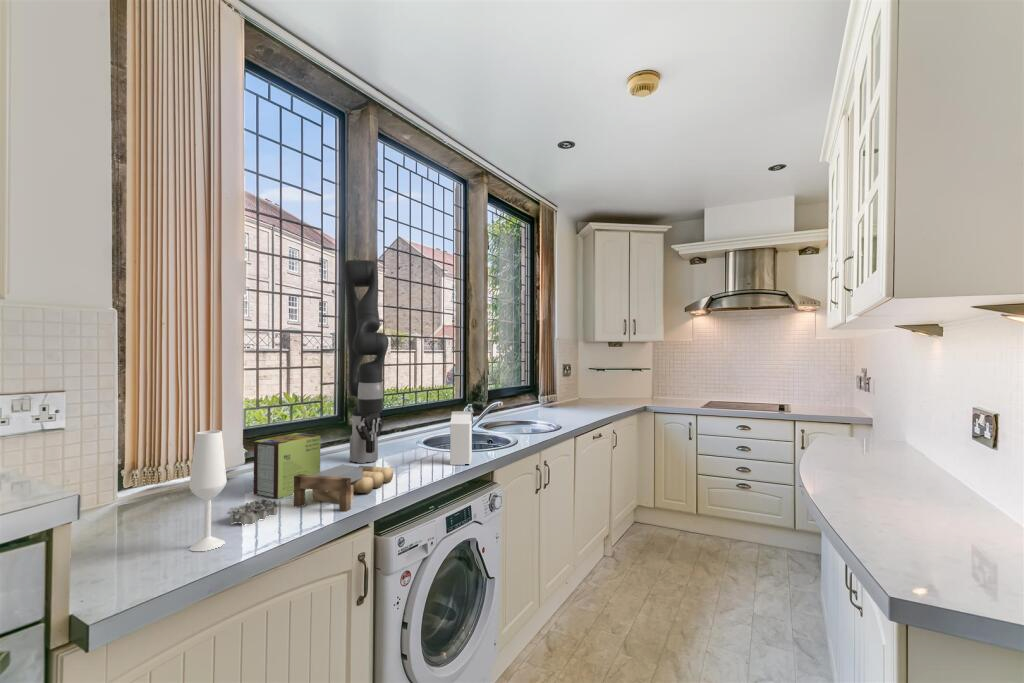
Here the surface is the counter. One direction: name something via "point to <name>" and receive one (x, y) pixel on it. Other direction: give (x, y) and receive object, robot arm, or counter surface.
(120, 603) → the counter surface
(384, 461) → the counter surface
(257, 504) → the egg carton
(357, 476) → the slab
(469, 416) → the milk carton
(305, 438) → the protein box
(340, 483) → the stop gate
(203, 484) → the champagne flute
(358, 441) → the robot arm
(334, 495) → the oak skid
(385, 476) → the roller bed
